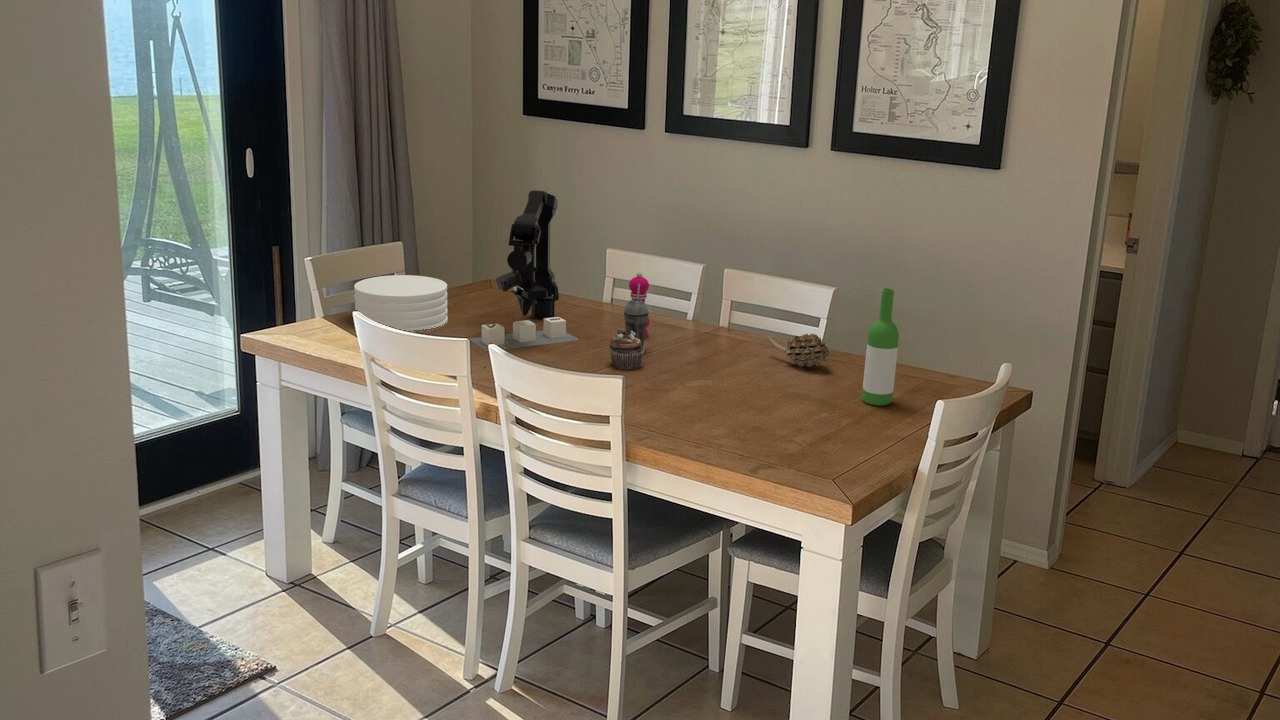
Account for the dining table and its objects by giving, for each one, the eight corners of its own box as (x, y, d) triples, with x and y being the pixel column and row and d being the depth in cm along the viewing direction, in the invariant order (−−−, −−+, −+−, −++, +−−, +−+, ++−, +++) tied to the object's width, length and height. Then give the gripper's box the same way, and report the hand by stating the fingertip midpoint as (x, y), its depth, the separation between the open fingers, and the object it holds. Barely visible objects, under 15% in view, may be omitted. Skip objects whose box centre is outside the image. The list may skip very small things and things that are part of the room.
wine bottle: (887, 397, 304) (899, 286, 295) (895, 407, 296) (907, 293, 288) (858, 396, 304) (869, 285, 295) (865, 406, 296) (876, 292, 287)
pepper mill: (649, 333, 355) (652, 270, 349) (647, 340, 348) (650, 275, 342) (626, 332, 356) (628, 268, 350) (623, 338, 349) (626, 273, 343)
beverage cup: (617, 352, 334) (619, 284, 329) (629, 346, 341) (632, 280, 335) (639, 356, 331) (642, 288, 325) (651, 350, 337) (654, 283, 332)
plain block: (528, 336, 345) (528, 320, 343) (535, 340, 341) (535, 324, 339) (513, 338, 342) (513, 321, 341) (520, 342, 338) (520, 325, 337)
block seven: (497, 339, 340) (497, 322, 338) (504, 344, 336) (504, 327, 334) (481, 341, 337) (481, 324, 336) (488, 346, 333) (488, 328, 332)
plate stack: (438, 335, 345) (437, 297, 342) (345, 331, 345) (343, 293, 342) (454, 311, 372) (454, 277, 368) (368, 308, 372) (367, 273, 369)
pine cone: (836, 369, 327) (839, 335, 324) (818, 376, 320) (821, 341, 317) (771, 352, 340) (773, 320, 337) (752, 359, 333) (755, 325, 330)
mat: (559, 330, 355) (559, 328, 355) (580, 341, 343) (580, 339, 343) (467, 340, 340) (467, 338, 340) (486, 353, 328) (486, 351, 328)
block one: (558, 332, 350) (558, 316, 348) (565, 336, 346) (566, 320, 344) (543, 334, 347) (543, 317, 346) (550, 338, 343) (551, 321, 342)
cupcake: (614, 371, 317) (615, 336, 314) (605, 361, 326) (606, 326, 323) (647, 369, 319) (649, 335, 316) (638, 359, 328) (639, 325, 325)
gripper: (486, 259, 338) (486, 310, 343) (512, 272, 323) (512, 326, 328) (521, 256, 344) (520, 307, 348) (548, 269, 329) (547, 322, 333)
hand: (524, 315), depth 339 cm, fingers closed
